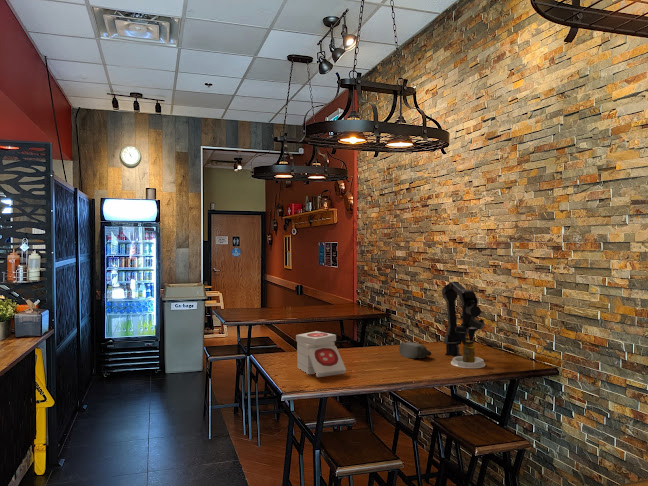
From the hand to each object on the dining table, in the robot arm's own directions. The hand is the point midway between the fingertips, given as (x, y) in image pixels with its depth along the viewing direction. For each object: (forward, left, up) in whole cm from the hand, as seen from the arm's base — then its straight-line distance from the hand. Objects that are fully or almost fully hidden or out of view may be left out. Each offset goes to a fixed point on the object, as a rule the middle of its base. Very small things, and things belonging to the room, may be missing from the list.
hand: (467, 343), depth 263 cm
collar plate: (0, 0, -11) cm, 11 cm away
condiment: (0, -1, -11) cm, 11 cm away
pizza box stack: (-53, -60, -12) cm, 81 cm away
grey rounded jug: (-32, -2, -12) cm, 34 cm away
